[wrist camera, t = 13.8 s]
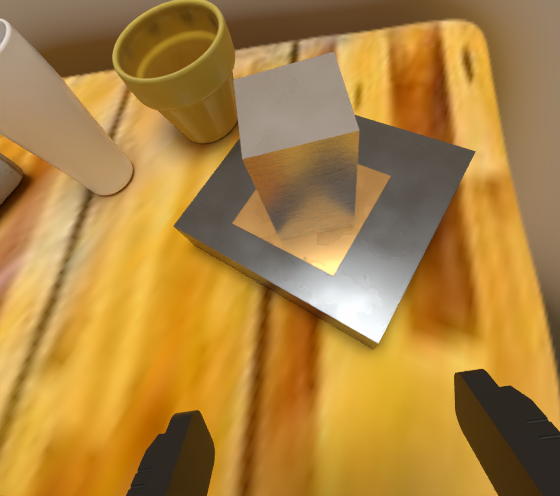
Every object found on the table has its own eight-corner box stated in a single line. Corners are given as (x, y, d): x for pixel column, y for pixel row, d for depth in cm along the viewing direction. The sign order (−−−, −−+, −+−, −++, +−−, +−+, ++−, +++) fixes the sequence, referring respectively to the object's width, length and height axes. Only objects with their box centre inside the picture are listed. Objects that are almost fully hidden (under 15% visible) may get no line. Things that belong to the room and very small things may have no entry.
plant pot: (199, 175, 33) (145, 99, 24) (152, 127, 37) (91, 47, 28) (273, 115, 34) (248, 22, 25) (220, 75, 38) (182, -17, 29)
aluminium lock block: (354, 225, 23) (359, 130, 14) (280, 240, 23) (242, 159, 15) (337, 162, 25) (332, 48, 16) (270, 177, 26) (233, 76, 17)
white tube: (120, 210, 33) (-38, 90, 19) (75, 195, 35) (-97, 78, 21) (152, 158, 35) (28, 17, 21) (107, 148, 37) (-32, 13, 23)
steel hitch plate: (194, 245, 29) (172, 225, 26) (283, 122, 33) (275, 90, 29) (373, 349, 23) (378, 343, 19) (457, 182, 27) (476, 150, 23)
